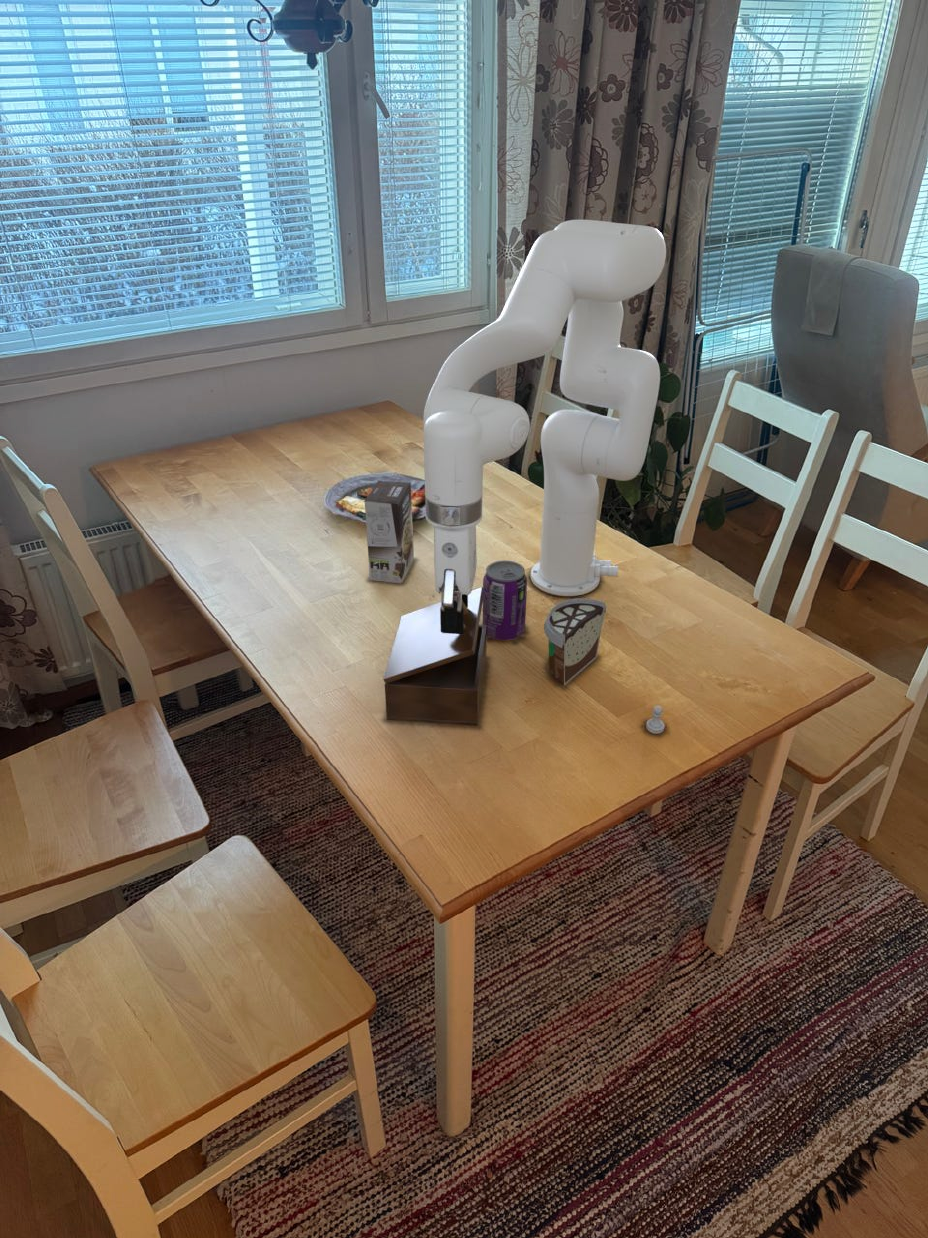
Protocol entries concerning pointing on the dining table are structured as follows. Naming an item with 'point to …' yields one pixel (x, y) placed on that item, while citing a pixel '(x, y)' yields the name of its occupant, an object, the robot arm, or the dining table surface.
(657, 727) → the pawn
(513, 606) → the beverage can
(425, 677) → the chest
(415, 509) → the food plate
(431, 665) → the lid
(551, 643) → the food container
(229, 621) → the dining table surface
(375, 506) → the coffee box
